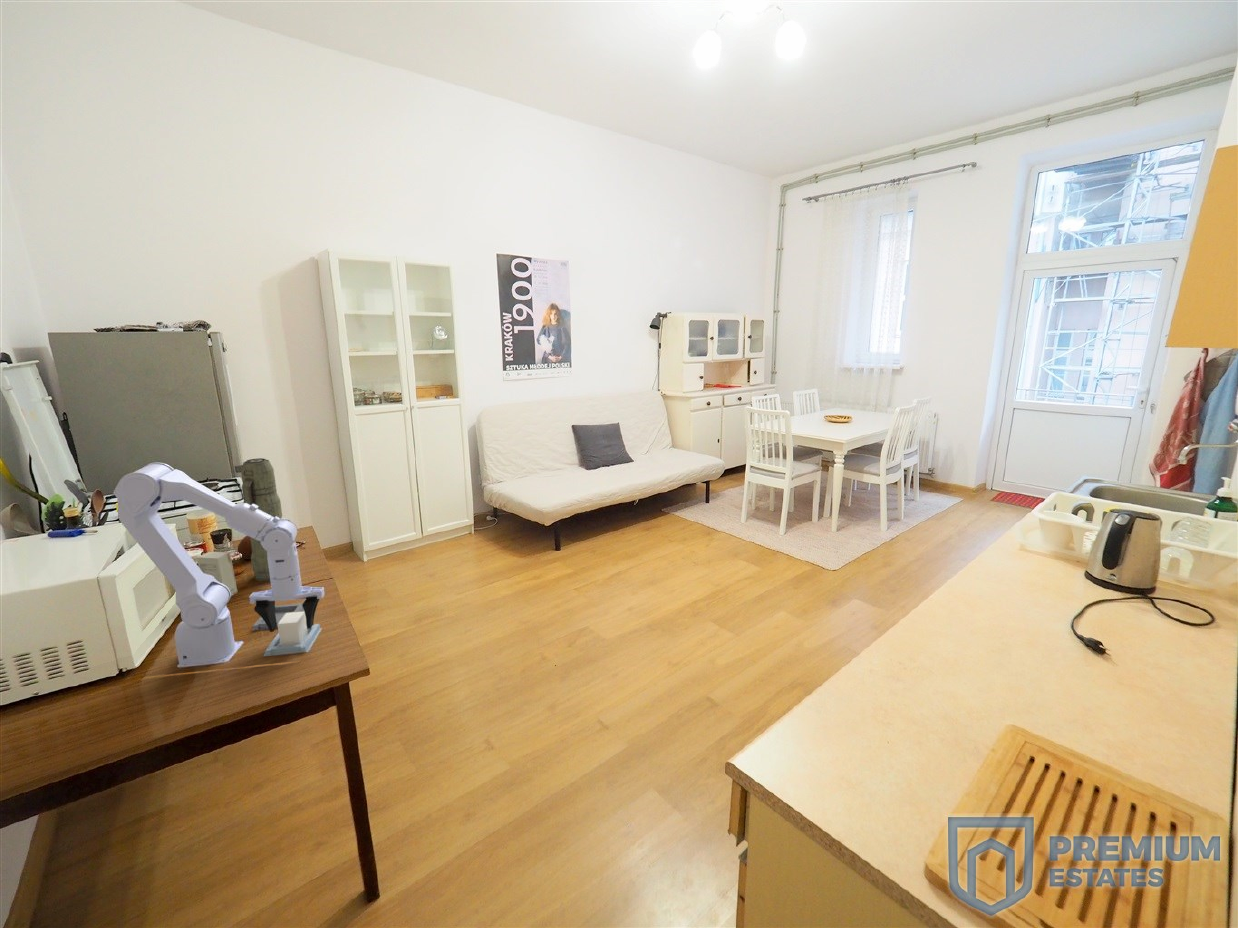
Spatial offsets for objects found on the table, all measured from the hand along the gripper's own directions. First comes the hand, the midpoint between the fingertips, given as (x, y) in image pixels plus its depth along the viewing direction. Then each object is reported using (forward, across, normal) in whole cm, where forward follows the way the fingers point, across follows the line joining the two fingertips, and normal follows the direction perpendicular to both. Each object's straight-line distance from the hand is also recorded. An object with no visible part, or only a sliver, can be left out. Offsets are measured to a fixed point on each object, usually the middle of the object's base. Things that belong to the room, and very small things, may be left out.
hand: (292, 628), depth 119 cm
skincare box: (+4, +27, -28) cm, 39 cm away
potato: (+4, +29, -56) cm, 63 cm away
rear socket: (+4, +7, -12) cm, 14 cm away
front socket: (+4, 0, 0) cm, 4 cm away
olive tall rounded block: (+4, +19, -40) cm, 44 cm away
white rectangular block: (+3, 0, 0) cm, 4 cm away
